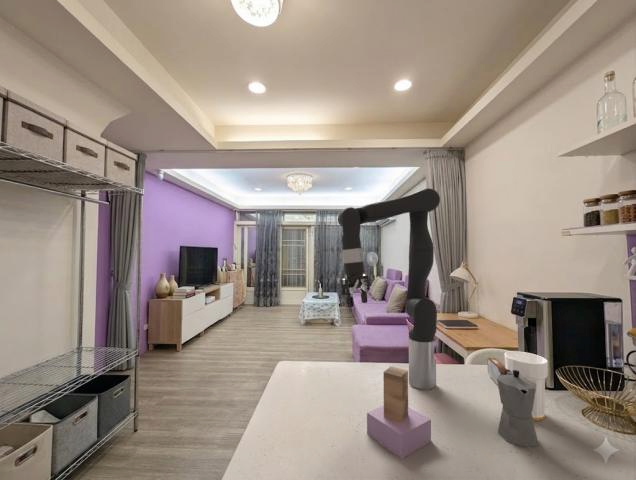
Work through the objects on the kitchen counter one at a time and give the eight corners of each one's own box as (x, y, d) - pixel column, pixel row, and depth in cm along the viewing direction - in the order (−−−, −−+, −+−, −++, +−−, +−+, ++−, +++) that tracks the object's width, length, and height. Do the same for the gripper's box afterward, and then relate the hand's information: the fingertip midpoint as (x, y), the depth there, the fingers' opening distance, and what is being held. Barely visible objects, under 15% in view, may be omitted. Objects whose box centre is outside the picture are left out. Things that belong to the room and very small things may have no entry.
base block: (395, 420, 88) (395, 400, 88) (431, 442, 78) (430, 419, 78) (366, 434, 81) (367, 412, 81) (401, 460, 71) (401, 434, 71)
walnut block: (391, 408, 83) (390, 366, 84) (408, 414, 80) (407, 370, 81) (383, 416, 79) (383, 371, 80) (401, 423, 76) (401, 376, 77)
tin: (510, 392, 106) (510, 368, 106) (501, 391, 106) (500, 368, 107) (494, 375, 120) (493, 354, 121) (485, 374, 121) (485, 354, 121)
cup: (543, 408, 95) (542, 354, 96) (554, 426, 85) (552, 366, 85) (502, 400, 100) (501, 349, 100) (508, 417, 89) (507, 359, 90)
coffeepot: (548, 456, 72) (547, 383, 73) (505, 448, 75) (504, 377, 76) (525, 422, 87) (524, 361, 88) (489, 416, 90) (488, 357, 90)
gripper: (349, 262, 101) (354, 309, 100) (372, 259, 111) (377, 301, 110) (333, 263, 106) (338, 308, 105) (356, 260, 116) (360, 301, 115)
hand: (358, 304), depth 108 cm, fingers open, 8 cm apart
